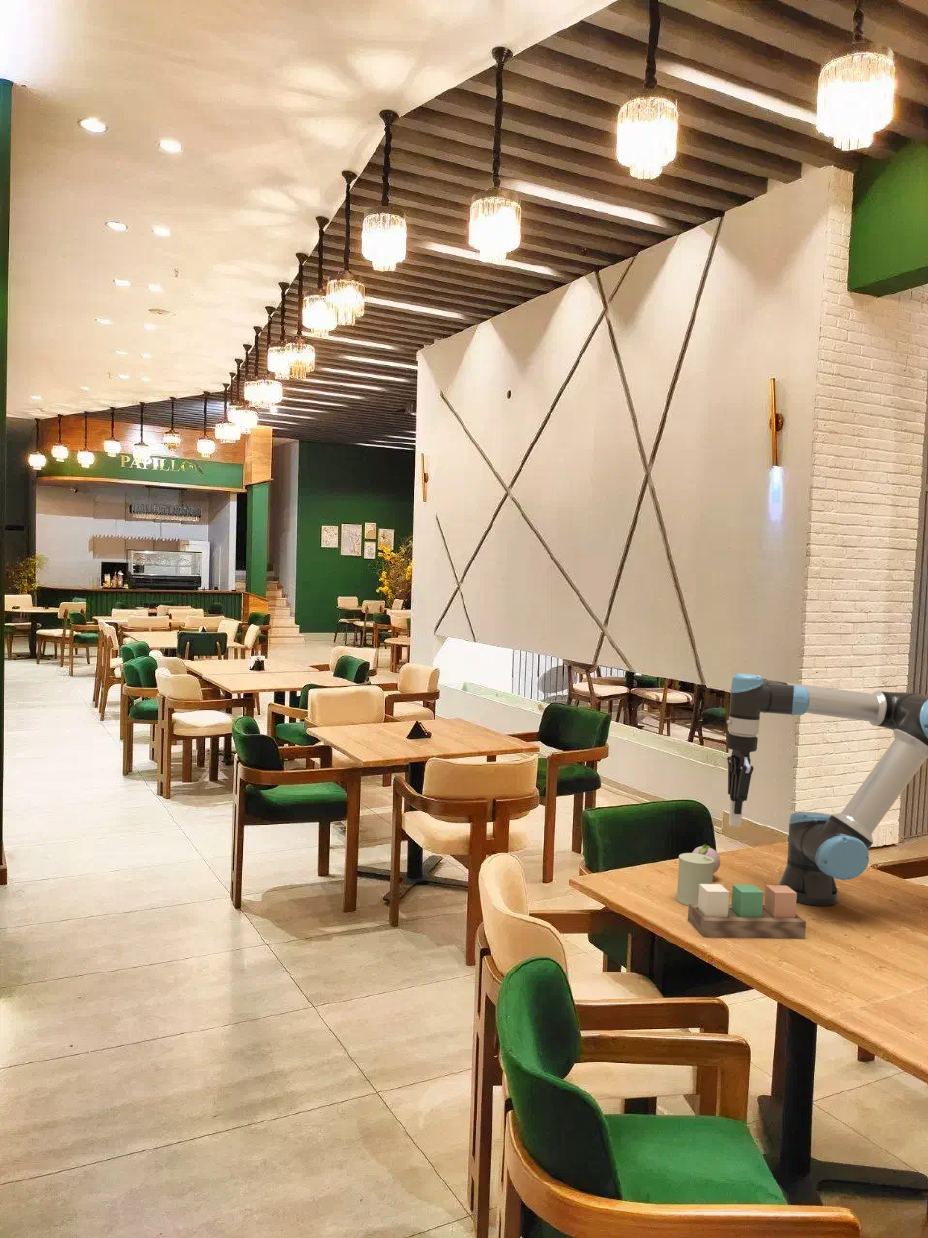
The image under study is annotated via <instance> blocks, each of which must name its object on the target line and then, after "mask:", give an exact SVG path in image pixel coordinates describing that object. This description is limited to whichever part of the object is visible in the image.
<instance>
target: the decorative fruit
mask: <svg viewBox="0 0 928 1238" xmlns="http://www.w3.org/2000/svg"><path fill="white" fill-rule="evenodd" d="M691 853H697V854H703V855H707V856H709V857H711V858H713V859H714V868H713V875H714V874H716V872H717V871H718V870H719V869H720V867H721V858H720V857H721V856H720V855H719V854H718V852H717V850H715V849H714V848H712V847H711V846H710V845H707V844H706V843H704V844H703V845H701V846H698V847H695V848H694V850H693V851H692V852H691Z"/></svg>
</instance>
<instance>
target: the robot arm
mask: <svg viewBox="0 0 928 1238" xmlns="http://www.w3.org/2000/svg"><path fill="white" fill-rule="evenodd" d="M730 685H731V686H730V691H729V692H730V698H729V700H730V701H729V713H728V720H726V724H727V731H728V732H729V733H728V734H726V743H725V744H726V748H727V749H728V750H731V755H730V756H727V759H726V760H727V794H728V795H729V799H730V803H729V815H728V825H729V826H730V827H740V828H741V826H742V817H743V804H744V802H746V801H747V800H748V794H749V790H750V785H751V784H750V783H751V780H752V774H753V771H754V765H751V762H752V761H751V755H750V754H751V753H753V752H756V751H758V743H759V741H758V740H759V738H758V737H757V736H758V735H759V734H760V733H759V732H760V721H761V720H760V717H761V713H764V714H766V713H767V714H779V715H780V714H781V715H790V716H803V715H805V714H811V715H819V716H827V717H834V718H840V719H849V720H855V721H863V722H869V724H871V725H872V726H874V727H879V728H880V727H881V728H885V729H889V730H892V731H893V735H894V739H893V741H892V743H890V745H889V746H888V748H887V749H886V751H885V752H884V753H883V754H882V756H881V758H879V760H878V762H877V763H876V764H875V765H874V767H873V768H872V770H871V771H870V773H869V774H868V775H867V777H866V778H865V780H864V781H863V782H862V784H861V785H860V786H859V787H858V789H857V790H856V792H855V793H854V794H853V796H852V797H851V798H850V800H849V802H848V803H847V804H846V805H845V807H844V809H842V811H841V812H838V813H833V814H829V813H824V812H823V813H822V812H816V811H794V812H792V813H791V814H790V817H789V823H788V839H787V840H788V842H787V843H788V844H787V858H786V859H787V860H786V867H785V868H784V871H783V874H782V876H781V878H780V880H779V884H778V885H784V886H788V887H789V888H791V889H792V890H793V891H795V892H796V893H797V900H796V903H798V904H799V903H800V904H804V905H809V906H818V907H819V906H821V907H823V906H825V907H826V906H833V905H835V903H836V904H837V903H838V901H839V893H838V892H839V891H838V888H837V884H836V880H835V879H837V880H840V881H847V880H852V879H855V878H857V877H859V876H860V875H861V874H863V872H865V870H866V869H867V867H868V865H869V862H870V857H869V855H870V852H869V849H870V848H871V846H873V844H874V840H873V832H874V831H875V830H876V828H877V827H878V825H879V824H880V823H881V821H882V820H883V819H884V817H885V816H886V814H887V813H888V812H889V810H890V809H891V808H892V806H893V805H894V803H895V802H896V801H897V799H898V798H899V796H900V795H901V794H902V793H903V791H904V790H905V788H906V787H907V786H908V784H909V783H910V781H912V780H913V777H914V776H915V774H917V772H918V771H919V769H920V768H921V766H922V765H923V764H924V762H925V761H926V760H927V759H928V695H926V694H922V693H919V692H903V691H902V692H897V691H895V692H892V691H882V690H876V691H873V693H871V692H870V693H869V692H861V691H853V690H847V689H846V690H845V689H839V688H838V689H837V688H833V687H832V688H830V687H824V686H823V687H822V686H816V685H809V684H800V683H794V682H793V683H792V682H786V681H785V682H784V681H778V680H769V679H767V678H763V676H761V675H758V674H750V673H736V674H734V675H733V676H732V680H731V684H730Z"/></svg>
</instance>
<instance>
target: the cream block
mask: <svg viewBox="0 0 928 1238" xmlns="http://www.w3.org/2000/svg"><path fill="white" fill-rule="evenodd" d="M729 897H730V891H729V890H728V889H726V888H725V887H724V885H722V884H720V883H712V884H699V897H698V910H699V911H700V912H701V913H702V914H703V915H704V916H705V917H728V905H729V901H730V899H729Z"/></svg>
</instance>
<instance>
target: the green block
mask: <svg viewBox="0 0 928 1238" xmlns="http://www.w3.org/2000/svg"><path fill="white" fill-rule="evenodd" d="M731 888H732V890H731V891H732V892H731V903H730V905H731V910H732V911H733V912H734V913H735V914H736V915H737V916H738V917H753V918H762V905H763V902H764V900H763V899H764V892H763V891H762V890H761V889H759V887H757V886H756V885H754V884H732V887H731Z"/></svg>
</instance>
